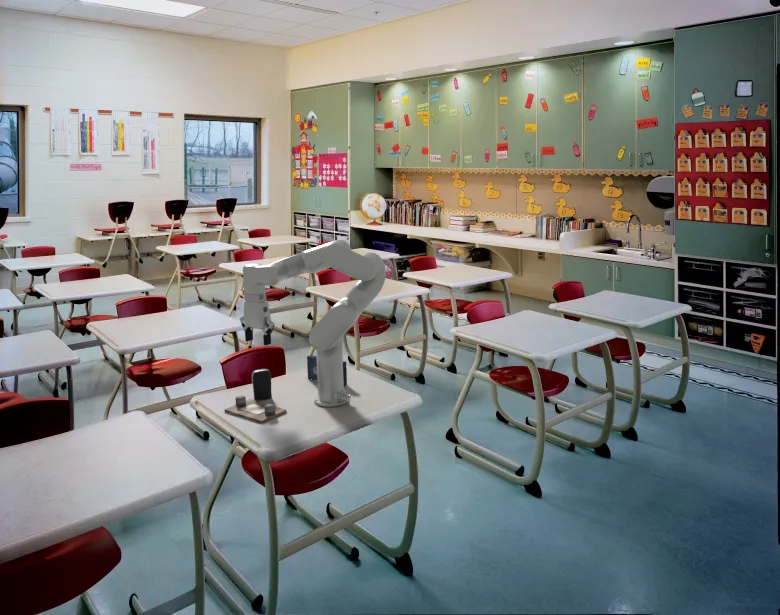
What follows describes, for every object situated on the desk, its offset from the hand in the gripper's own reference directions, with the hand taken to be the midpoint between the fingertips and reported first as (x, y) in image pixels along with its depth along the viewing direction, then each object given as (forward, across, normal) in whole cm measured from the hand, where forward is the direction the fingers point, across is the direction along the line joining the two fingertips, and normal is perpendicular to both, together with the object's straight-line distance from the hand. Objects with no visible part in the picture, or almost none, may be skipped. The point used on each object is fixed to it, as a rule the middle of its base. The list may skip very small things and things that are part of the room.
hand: (258, 342), depth 237 cm
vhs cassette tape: (+22, -9, -27) cm, 36 cm away
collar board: (+22, -8, +11) cm, 26 cm away
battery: (+22, 0, 0) cm, 22 cm away
